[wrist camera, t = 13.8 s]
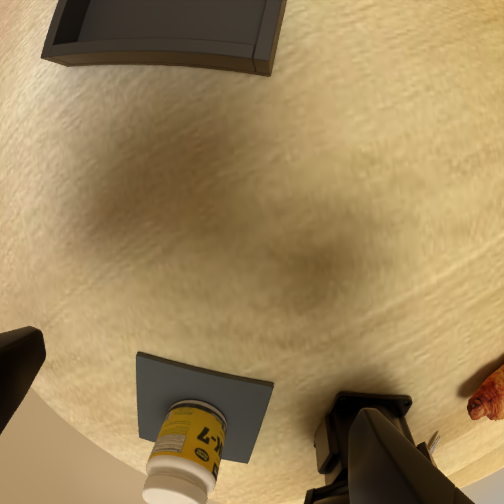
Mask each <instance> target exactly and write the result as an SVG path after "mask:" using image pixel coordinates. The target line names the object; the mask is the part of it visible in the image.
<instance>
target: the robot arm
mask: <svg viewBox="0 0 504 504" xmlns="http://www.w3.org/2000/svg"><path fill="white" fill-rule="evenodd" d="M45 358H46V350H45V344H44V338H43V333H42V331H41V330H39V329H37V328H35V327H32V326H27V327H23V328H20V329H16V330H12V331H8V332H4V333H0V434H1V433H2V431H3V430H4V428H5V426H6V425H7V423H8V422H9V420H10V419H11V417H12V415H13V414H14V412H15V411H16V410H17V408H18V407H19V405H20V404H21V402H22V400H23V399H24V397H25V395H26V394H27V392H28V390H29V388H30V386H31V384H32V383H33V381H34V379H35V377H36V375H37V373H38V372H39V370H40V368H41V366H42V364H43V363H44V361H45ZM341 398H344V399H341ZM406 402H407V403H406ZM411 405H412V399H411V398H410V397H408V396H389V395H375V394H363V393H352V392H340V393H339V394H337V396H336V398H335V400H334V402H333V404H332V406H331V408H330V410H329V412H328V413H327V414H326V415H324V417H323V419H322V421H321V423H320V425H319V427H318V429H317V431H316V433H315V440H314V447H315V448H316V456H317V468H318V472H319V473H320V474H325V484H326V486H323V487H320V488H317V489H315V488H313V489H310V490H307V493H306V497H305V501H304V504H475V503H473V502H472V501H471V500H470V499H469V498H468V497H467V496H466V495H464V493H462V491H460V489H458V488H457V487H455V485H454V484H453V483H452V482H451V481H450V480H449V479H448V478H447V477H446V476H445V475H444V474H443V473H442V472H441V471H440V470H439V469H438V468H437V466H436V464H435V462H434V460H433V457H432V455H431V453H430V451H429V449H428V447H427V445H426V443H425V441H424V442H422V443H420V444H418V445H417V447H416V446H415V443H414V440H413V438H412V435H411V433H410V430H409V427H408V425H407V422H406V420H405V417H404V416H405V415H406V413H407V412H408V410H409V408H410V407H411Z"/></svg>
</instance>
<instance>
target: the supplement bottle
mask: <svg viewBox="0 0 504 504" xmlns="http://www.w3.org/2000/svg"><path fill="white" fill-rule="evenodd" d="M226 430H227V423H226V420H225V418H224V416H223V415H222V414H221V413H220V412H219V411H218V410H217V409H216V408H215V407H213V406H211V405H209V404H207V403H205V402H201V401H197V400H184V401H180V402H177V403H175V404H174V405H173V406H172V407H171V408H170V409H169V411H168V414H167V416H166V418H165V421H164V423H163V425H162V428H161V430H160V433H159V435H158V438H157V440H156V442H155V445H154V447H153V450H152V452H151V455H150V457H149V459H148V462H147V466H146V471H147V474H148V478H147V480H146V482H145V485H144V488H143V491H142V496H143V498H144V500H145V501H146V502H147V503H148V504H206V502H207V499H208V498H207V494H209V493H211V492H212V491H213V489H214V487H215V484H216V481H217V475H218V470H219V465H220V461H221V455H222V450H223V445H224V440H225V435H226Z"/></svg>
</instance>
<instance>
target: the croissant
mask: <svg viewBox="0 0 504 504" xmlns="http://www.w3.org/2000/svg"><path fill="white" fill-rule="evenodd" d="M467 410H468V414H469V416H470V417H471V419H472V420H478V419H480V418H481V417H483V416H487V417H488V418H489V419H490V420H495V421H496V420H500V419H504V364H503V365H502V366H501V367H500V368H499V369H498V370H496V371H495V372H494V373H492V374H491V375H490V376H489V377H488V378H487V379H486V380H485V381H484V382H483V383H482V385H481V386H480V387H479V389H478V390H477V391H476V393H475V394H474V395H473V396H472V397H471V398H470V399H469V401H468V405H467Z"/></svg>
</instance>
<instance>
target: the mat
mask: <svg viewBox="0 0 504 504" xmlns="http://www.w3.org/2000/svg"><path fill="white" fill-rule="evenodd" d="M136 384H137V410H138V427H139V438H142V439H145V440H149V441H152V442H156V440H157V438H158V435H159V433H160V430H161V428H162V425H163V423H164V421H165V418H166V416H167V414H168V411H169V409H170V408H171V407H172V406H173V405H174V404H175V403H177V402H180V401H184V400H197V401H201V402H205V403H207V404H209V405H211V406H213V407H215V408H216V409H217V410H218V411H219V412H220V413H221V414H222V415H223V416H224V418H225V420H226V423H227V430H226V435H225V440H224V445H223V450H222V455H221V459H224V460H229V461H235V462H241V463H247V464H248V462H249V459H250V456H251V453H252V450H253V448H254V445H255V442H256V439H257V436H258V433H259V430H260V427H261V424H262V421H263V418H264V415H265V412H266V409H267V406H268V403H269V400H270V397H271V394H272V391H273V388H274V383H270V382H264V381H258V380H253V379H248V378H243V377H238V376H233V375H228V374H223V373H219V372H214V371H210V370H205V369H201V368H197V367H193V366H189V365H185V364H181V363H177V362H173V361H169V360H166V359H162V358H158V357H155V356H151V355H148V354H144V353H141V352H138V353H137V355H136Z"/></svg>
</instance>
